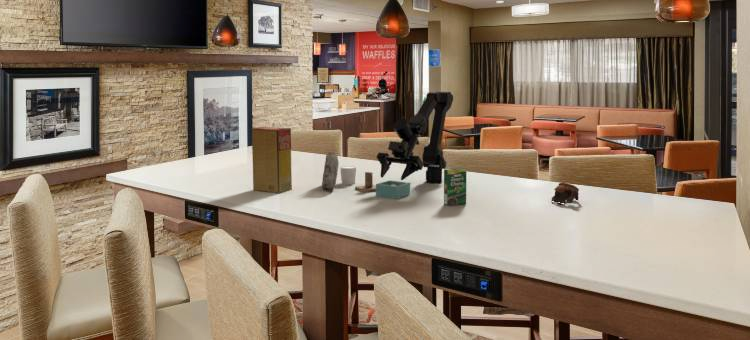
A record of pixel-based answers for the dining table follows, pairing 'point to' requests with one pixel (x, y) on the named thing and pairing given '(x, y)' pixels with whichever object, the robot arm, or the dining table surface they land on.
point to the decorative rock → (330, 171)
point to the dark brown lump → (565, 193)
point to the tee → (367, 183)
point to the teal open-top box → (393, 189)
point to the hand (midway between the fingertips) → (391, 178)
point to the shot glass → (348, 174)
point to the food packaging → (271, 159)
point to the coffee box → (454, 186)
